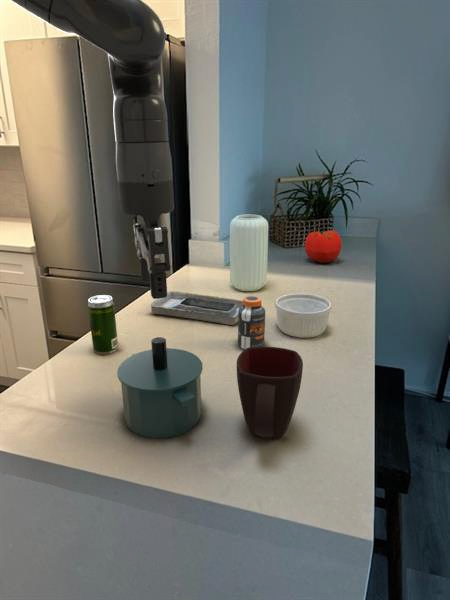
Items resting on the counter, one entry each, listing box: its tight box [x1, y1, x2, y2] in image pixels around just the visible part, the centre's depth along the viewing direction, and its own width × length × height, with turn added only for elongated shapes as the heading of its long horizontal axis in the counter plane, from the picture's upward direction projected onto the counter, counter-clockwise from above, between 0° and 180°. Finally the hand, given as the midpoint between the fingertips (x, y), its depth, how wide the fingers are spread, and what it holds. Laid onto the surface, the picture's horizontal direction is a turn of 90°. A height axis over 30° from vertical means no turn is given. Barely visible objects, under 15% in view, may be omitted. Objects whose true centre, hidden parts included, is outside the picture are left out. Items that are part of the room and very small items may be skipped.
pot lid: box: [116, 336, 204, 393], centre depth 69 cm, size 14×14×6 cm
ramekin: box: [274, 292, 332, 339], centre depth 104 cm, size 13×13×7 cm
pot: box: [120, 352, 202, 439], centre depth 71 cm, size 13×18×8 cm
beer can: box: [87, 294, 119, 356], centre depth 93 cm, size 5×5×12 cm
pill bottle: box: [237, 295, 266, 350], centre depth 95 cm, size 6×6×11 cm
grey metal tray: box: [148, 290, 243, 326], centre depth 115 cm, size 13×25×3 cm, turn 71°
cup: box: [236, 346, 304, 440], centre depth 65 cm, size 10×14×12 cm
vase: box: [229, 213, 269, 292], centre depth 131 cm, size 12×12×22 cm
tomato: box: [304, 229, 342, 264], centre depth 162 cm, size 13×14×12 cm
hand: (153, 288), depth 65 cm, fingers open, 8 cm apart
